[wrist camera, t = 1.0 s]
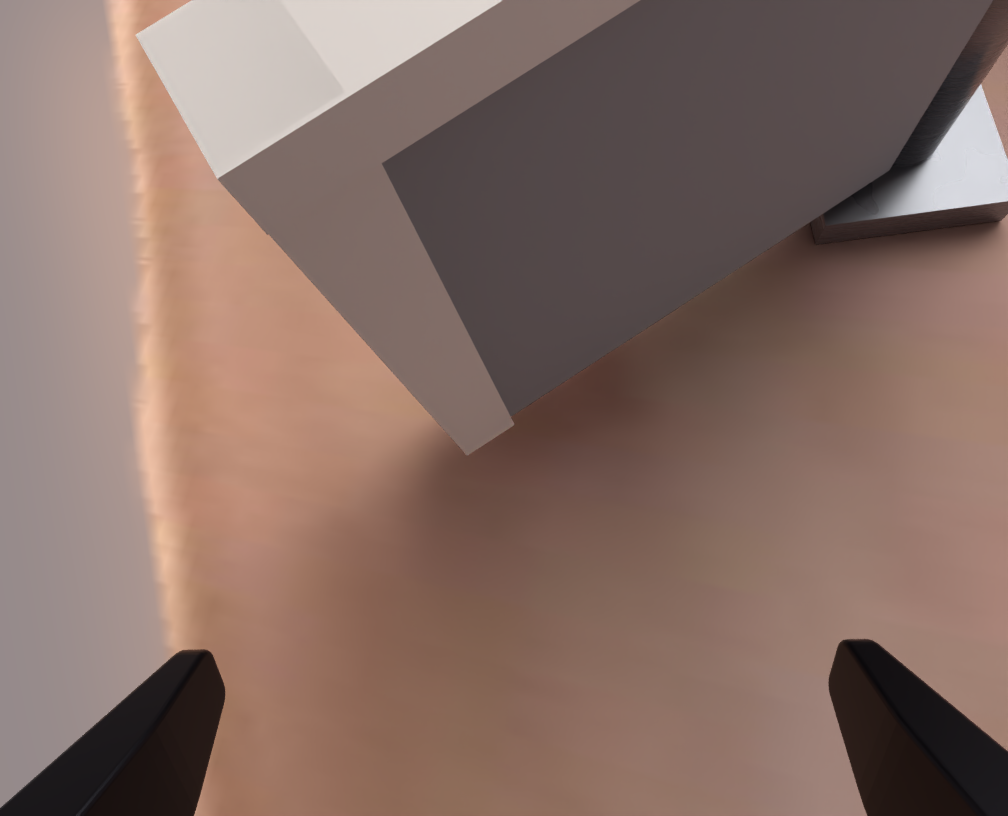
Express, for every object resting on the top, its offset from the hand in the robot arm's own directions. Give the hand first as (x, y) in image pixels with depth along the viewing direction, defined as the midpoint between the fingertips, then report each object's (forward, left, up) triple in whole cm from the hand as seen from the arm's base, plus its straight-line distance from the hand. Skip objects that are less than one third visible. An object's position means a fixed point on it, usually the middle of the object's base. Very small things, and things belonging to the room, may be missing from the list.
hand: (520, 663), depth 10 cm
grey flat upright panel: (+11, -4, -10) cm, 15 cm away
